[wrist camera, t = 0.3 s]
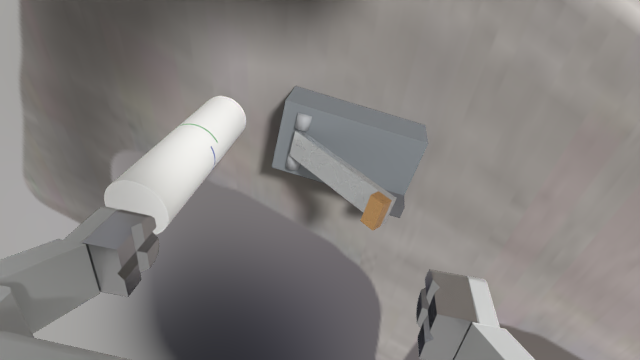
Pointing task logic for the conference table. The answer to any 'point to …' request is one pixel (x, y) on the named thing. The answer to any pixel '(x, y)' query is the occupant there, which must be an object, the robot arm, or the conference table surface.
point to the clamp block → (353, 140)
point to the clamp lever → (343, 179)
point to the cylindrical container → (178, 163)
